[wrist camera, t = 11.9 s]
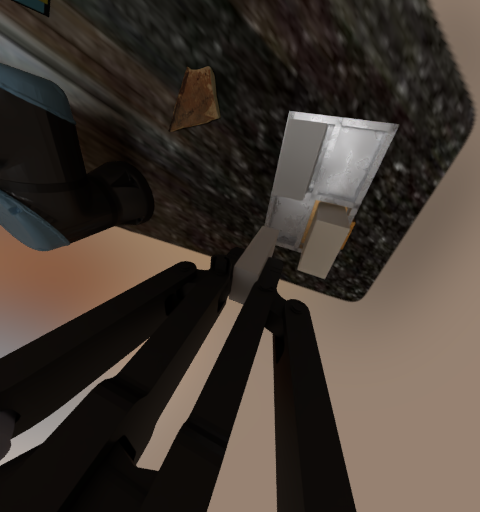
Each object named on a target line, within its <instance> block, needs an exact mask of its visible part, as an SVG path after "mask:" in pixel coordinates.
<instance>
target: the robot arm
mask: <svg viewBox="0 0 480 512" xmlns="http://www.w3.org/2000/svg"><path fill="white" fill-rule="evenodd" d="M75 125H76V122H75V121H74V119H73V116H72V112H71V109H70V105H69V102H68V99H67V96H66V94H65V93H64V91H63V90H62V89H61V88H60V87H59V86H58V85H56V84H55V83H53V82H52V81H50V80H47V79H44V78H42V77H39V76H36V75H33V74H31V73H28V72H25V71H22V70H19V69H16V68H14V67H11V66H8V65H5V64H2V63H0V225H1V226H2V227H3V228H5V229H6V230H7V231H8V232H9V233H10V234H11V235H12V236H14V237H15V238H16V239H18V240H19V241H20V242H21V243H23V244H25V245H26V246H28V247H30V248H32V249H35V250H38V251H49V250H53V249H56V248H59V247H62V246H68V245H70V243H73V242H76V241H78V240H81V239H83V238H86V237H88V236H90V235H93V234H96V233H98V232H101V231H103V230H106V229H108V228H111V227H114V226H128V225H139V224H141V223H144V222H146V221H148V220H149V219H150V218H151V216H152V214H153V209H154V202H153V196H152V193H151V190H150V188H149V185H148V184H147V182H146V180H145V179H144V177H143V176H142V175H141V173H140V172H139V171H138V170H137V169H136V168H134V167H133V166H132V165H130V164H128V163H126V162H123V161H115V162H108V163H105V164H103V165H102V166H100V167H98V168H96V169H94V170H93V171H91V172H89V173H87V174H86V170H85V166H84V162H83V158H82V153H81V149H80V145H79V140H78V135H77V131H76V126H75ZM278 234H279V230H276V229H272V228H269V227H265V226H262V227H261V229H260V230H259V232H258V233H257V234H256V236H255V237H254V239H253V240H252V241H251V243H250V244H249V246H248V247H247V249H246V250H245V249H242V248H239V247H235V248H233V249H231V250H230V252H229V253H228V254H227V255H214V256H212V257H211V267H210V269H209V270H199V269H197V268H196V265H195V264H194V263H192V262H188V261H184V262H180V263H177V264H175V265H174V266H172V267H170V268H168V269H166V270H164V271H162V272H161V273H159V274H157V275H155V276H153V277H151V278H149V279H147V280H145V281H144V282H142V283H140V284H138V285H136V286H135V287H133V288H131V289H129V290H127V291H125V292H124V293H122V294H120V295H118V296H116V297H114V298H112V299H110V300H108V301H106V302H105V303H103V304H101V305H99V306H97V307H95V308H93V309H92V310H90V311H88V312H86V313H84V314H82V315H81V316H79V317H77V318H75V319H73V320H71V321H69V322H67V323H66V324H64V325H62V326H60V327H58V328H56V329H55V330H52V331H51V332H49V333H47V334H45V335H43V336H41V337H40V338H38V339H36V340H34V341H32V342H30V343H28V344H26V345H25V346H23V347H21V348H19V349H17V350H15V351H13V352H12V353H10V354H8V355H6V356H4V357H2V358H0V460H1V459H2V458H4V457H5V455H6V454H7V453H8V451H9V450H10V447H11V441H10V440H11V439H12V438H14V437H16V436H17V435H19V434H21V433H23V432H25V431H26V430H28V429H30V428H31V427H33V426H34V425H36V424H37V423H39V422H41V421H42V420H44V419H45V418H47V417H48V416H50V415H51V414H52V413H54V412H55V411H56V410H58V409H59V408H60V407H61V406H63V405H64V404H66V403H67V402H68V401H69V400H71V399H72V398H73V397H74V396H76V395H77V394H78V393H79V392H81V391H82V390H83V389H85V388H86V387H87V386H88V385H90V384H91V383H92V382H94V381H95V380H96V379H97V378H99V377H100V376H101V375H102V374H104V373H105V372H106V371H108V369H110V368H111V367H113V366H114V365H115V364H116V363H118V362H119V361H120V360H121V359H123V358H124V357H125V356H127V354H129V353H130V352H132V351H133V350H134V349H135V348H137V347H138V346H139V345H140V344H142V343H143V342H144V341H146V340H147V339H148V338H149V337H150V338H149V339H148V340H147V341H146V342H145V343H144V345H143V346H142V347H141V348H140V349H139V350H138V352H137V353H136V354H135V355H134V356H133V357H132V358H131V360H130V361H129V362H128V363H127V364H126V365H125V366H124V367H123V369H122V370H121V371H120V372H119V373H118V374H117V375H116V376H114V377H113V378H110V379H105V380H104V381H102V382H101V383H99V384H98V385H97V386H96V387H95V388H94V389H93V390H91V392H90V393H89V394H88V395H87V396H86V397H85V398H84V399H83V400H82V401H81V402H80V404H79V405H78V406H77V407H76V408H75V409H74V410H73V411H72V412H71V413H70V414H69V415H68V417H67V418H66V419H65V420H64V421H63V422H62V423H61V424H60V425H59V426H58V427H57V428H56V430H55V431H54V432H53V433H52V434H51V435H50V436H49V437H48V438H47V439H46V440H45V441H44V442H43V443H42V444H40V445H38V446H36V447H35V448H33V449H31V450H29V451H27V452H25V453H23V454H21V455H19V456H18V457H16V458H14V459H12V460H10V461H8V462H6V463H4V464H3V465H1V466H0V512H207V509H208V506H209V503H210V500H211V496H212V493H213V490H214V487H215V483H216V480H217V477H218V474H219V471H220V468H221V464H222V461H223V458H224V455H225V451H226V448H227V444H228V441H229V437H230V434H231V431H232V428H233V425H234V422H235V418H236V415H237V412H238V409H239V406H240V403H241V400H242V396H243V393H244V390H245V387H246V384H247V380H248V377H249V374H250V371H251V367H252V364H253V361H254V358H255V355H256V352H257V349H258V346H259V342H260V339H261V336H262V333H263V330H264V327H265V328H266V329H268V330H269V331H270V332H272V333H273V368H274V405H275V406H274V407H275V444H276V484H277V512H356V508H355V504H354V499H353V496H352V492H351V487H350V483H349V478H348V474H347V470H346V465H345V461H344V457H343V452H342V448H341V444H340V440H339V435H338V432H337V427H336V423H335V418H334V414H333V410H332V405H331V402H330V397H329V393H328V388H327V384H326V380H325V376H324V372H323V367H322V363H321V358H320V354H319V350H318V346H317V341H316V338H315V333H314V329H313V324H312V320H311V316H310V311H309V309H308V307H307V306H306V305H305V304H304V303H303V302H301V301H299V300H296V299H290V300H287V301H286V300H285V299H283V298H282V297H281V296H280V295H279V294H278V292H277V289H276V288H277V284H278V281H279V278H280V275H281V272H282V268H283V263H282V261H281V260H278V259H275V258H272V255H273V251H274V248H275V244H276V241H277V238H278ZM229 294H230V295H229ZM228 296H229V299H231V300H233V301H236V302H239V303H241V304H243V307H242V309H241V311H240V313H239V315H238V317H237V319H236V321H235V323H234V326H233V328H232V330H231V332H230V334H229V336H228V338H227V340H226V342H225V344H224V346H223V348H222V350H221V352H220V354H219V357H218V358H217V361H216V363H215V365H214V367H213V369H212V371H211V373H210V375H209V377H208V379H207V381H206V383H205V385H204V388H203V390H202V391H201V394H200V396H199V398H198V400H197V402H196V404H195V406H194V408H193V410H192V412H191V414H190V416H189V418H188V419H187V421H186V422H185V423H184V424H183V426H182V427H181V429H180V430H179V432H178V434H177V436H176V438H175V440H174V442H173V444H172V446H171V448H170V450H169V452H168V454H167V456H166V458H165V460H164V462H163V464H162V466H161V468H160V470H159V471H155V470H149V469H144V468H138V467H137V466H136V464H137V462H138V460H139V458H140V457H141V455H142V453H143V452H144V450H145V448H146V446H147V444H148V443H149V441H150V439H151V436H152V434H153V431H154V428H155V425H156V423H157V421H158V419H159V417H160V415H161V413H162V412H163V410H164V409H165V407H166V405H167V403H168V402H169V400H170V398H171V397H172V395H173V393H174V391H175V390H176V388H177V386H178V385H179V383H180V381H181V380H182V378H183V376H184V374H185V373H186V371H187V369H188V368H189V366H190V364H191V363H192V361H193V359H194V357H195V356H196V354H197V352H198V351H199V349H200V347H201V345H202V344H203V342H204V340H205V339H206V337H207V335H208V333H209V332H210V330H211V328H212V327H213V325H214V323H215V322H216V320H217V318H218V316H219V315H220V313H221V311H222V310H223V308H224V306H225V304H226V300H227V297H228Z"/></svg>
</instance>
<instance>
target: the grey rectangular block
mask: <svg viewBox="0 0 480 512" xmlns="http://www.w3.org/2000/svg"><path fill="white" fill-rule="evenodd" d="M327 130H328V126H327V123H321V122H313V121H306V120H298V119H290V118H288V122H287V126H286V131H285V135H284V140H283V144H282V149H281V153H280V158H279V162H278V167H277V172H276V176H275V181H274V185H273V190H272V194H273V195H278V196H282V197H286V198H290V199H294V200H299V201H303V199H304V197H305V195H306V193H307V191H308V188H309V186H310V183H311V180H312V177H313V174H314V170H315V167H316V164H317V161H318V158H319V155H320V152H321V149H322V146H323V142H324V139H325V136H326V133H327Z"/></svg>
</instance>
